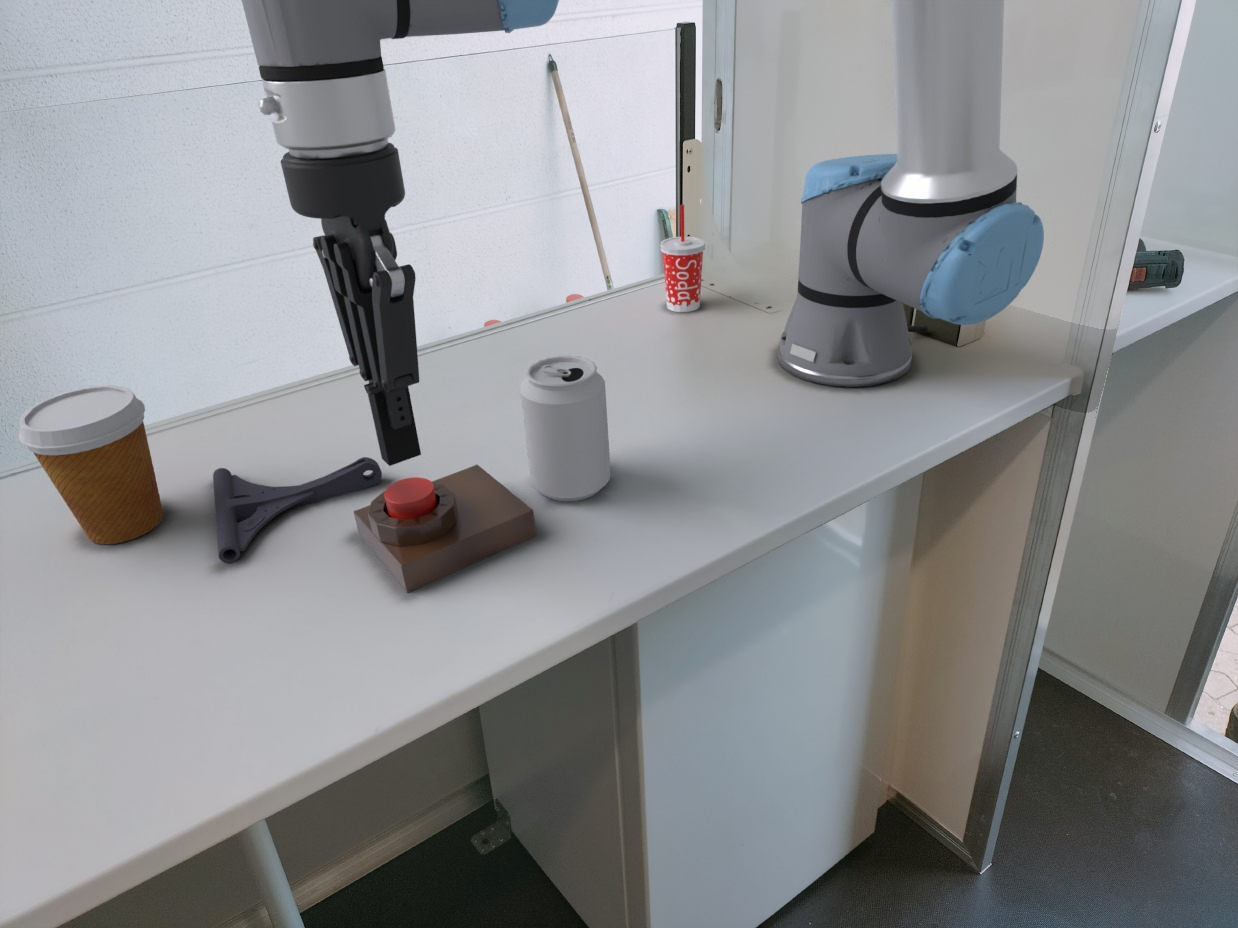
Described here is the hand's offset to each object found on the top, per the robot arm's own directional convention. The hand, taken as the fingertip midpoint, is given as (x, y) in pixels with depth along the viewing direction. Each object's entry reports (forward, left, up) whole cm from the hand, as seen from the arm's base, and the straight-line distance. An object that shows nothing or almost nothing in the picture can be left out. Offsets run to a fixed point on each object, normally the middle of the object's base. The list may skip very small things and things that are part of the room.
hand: (401, 456), depth 68 cm
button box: (-3, 0, -9) cm, 9 cm away
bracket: (+5, -14, -9) cm, 18 cm away
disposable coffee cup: (+19, -21, -9) cm, 30 cm away
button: (0, 0, -5) cm, 5 cm away
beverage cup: (-54, -29, -9) cm, 62 cm away
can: (-16, 0, -9) cm, 18 cm away
